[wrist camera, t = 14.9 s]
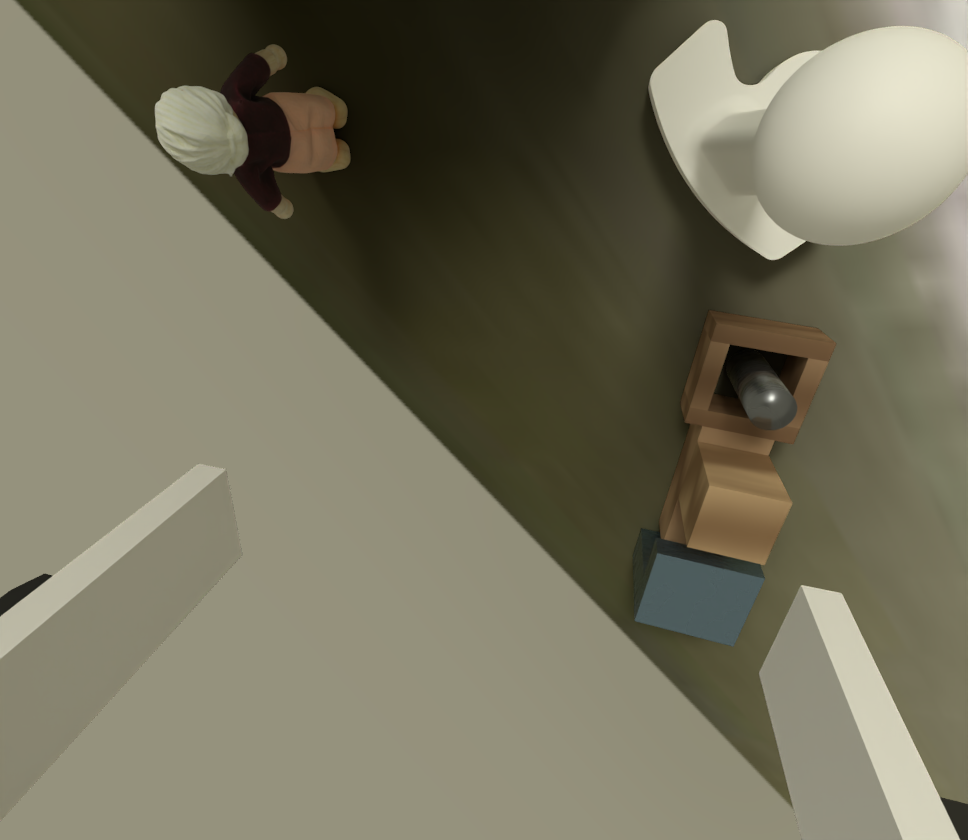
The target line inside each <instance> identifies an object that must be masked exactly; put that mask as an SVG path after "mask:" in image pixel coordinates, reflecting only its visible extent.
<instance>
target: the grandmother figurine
mask: <svg viewBox="0 0 968 840" xmlns="http://www.w3.org/2000/svg"><path fill="white" fill-rule="evenodd" d="M286 64H287V56H286V53H285V51H284V50H283V49H282V48H281V47H280V46H278V45H275V44H272V45H269V46H267V47H266V49H263V50H260V51H258V52H256V53H250V54H248V55H247V56H246V57H245V58H244V60H243V61H242V62H241V63H240V64H239V65H238V66H237V67H236V69H235V70H234V71H233V72H232V73H231V75H230V76H229V78H228V79H227V80H226V81H225V83H224V84H223V86H222V89H221V92H220V93H219V92H216V91H212V90H210V89H207V88H204V87H201V86H194V87H193V86H191V87H190V86H181V87H178V88H177V89H175V88H171V89H169V90H168V91H167V92H164V93H163V94H162V95H161V100H160V101H159V102H157V103H156V105H155V119H156V129H157V133H158V139H159V141H160V143H161V145H162V146H163V147H164V148H165V150H166V151H167V152H168V153H169V154H170V155H171V156H172V157H173V158H174V159H176V160H177V161H179V162H180V163H182V164H184V165H185V166H186V167H188V168H190V169H191V170H193V171H196V172H199V173H201V174H209V175H216V174H219V173H221V174H223V173H227V174H229V175H230V176H232V174H233V173H234V174H235V176H236V178H237V179H238V181H239V182H240V184H241V185H242V186H243V188H244V189H245V190H246V191H247V193H248V194H249V195H250V196H251V197H252V198H253V199H254V200H255V201H256V202H257V204H258V205H259V206H260V207H261V208H262V209H264V210H265V211H271V212H273V213H275V214H276V215H277V216H278V217H279V218H282V219H287V218H289V217H291V216H292V214H293V205H292V203H291V202H290V201H289V200H288V199H286V198H284V197H283V195H281V193H280V190H279V188H278V186H277V183H276V180H275V177H274V171H273V170H275V171H278V172H283V173H311V172H316V171H319V172H331V171H335V170H341V169H344V168H346V167H347V166H348V165H349V163H350V159H351V157H350V149H349V147H348V145H347V143H346V142H344V141H343V140H340V139H336V138H335V134H334V130H333V128H334V129H339V128H342V127H343V126H344V125H345V123H346V121H347V114H348V110H347V106H346V104H345V103H344V101H343V100H341V99H340V98H338V97H337V96H335V95H333V94H332V93H330V92H328V91H327V90H325V89H323V88H320V87H313V88H311V89H309V90H308V91H307V92H306V93H290V92H272V93H268V94H266V95H264V96H262V97H259V96H255V94H256V93H257V92H258V91H259V89H260V88H261V87H262V86H263V85H264V84H265V83H266V82H267V80H268V79H269V77H270V76H271V75H273V74H275V73H276V71H277V70H281V69H283V68H284V67H285V66H286Z"/></svg>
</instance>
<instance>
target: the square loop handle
mask: <svg viewBox="0 0 968 840" xmlns="http://www.w3.org/2000/svg"><path fill="white" fill-rule="evenodd" d="M730 344H731V345H736V346H742V347H748V348H753V349H759V350H765V351H770V352H776V353H782V354H787V355H788V356H787V358H786V361H785V363H784V366H783V368H782V371H781V373H780V376H779V378H780V380H781V381H782V382H783V384H784V385H785V386H786V388H787V389H788V391H789V392H790V393H791V395H792V396H793V397H794V399H795V400H796V403H797V413H796V416H795V417H794V419H793V420H792V421H791V422H790V423H789V424H788V425H787V426H785V427H783V428H781V429H777V430H763V429H760V428H758V427H756V426H755V425H753V424H752V422H751V421H750V419H749V417H748V415H747V413H746V411H745V409H744V407H743V405H742V403H741V401H740V399H738V398H733V397H727V396H722V395H717V394H714V391H715V388H716V385H717V382H718V379H719V376H720V373H721V370H722V367H723V364H724V361H725V358H726V355H727V352H728V349H729V346H730ZM835 346H836V343H835V342H834V341H833V340H831V339H830V338H829V337H828V336H827V335H825V334H824V333H823V332H822V331H821V330H819V329H818V328H813V327H807V326H801V325H795V324H789V323H783V322H777V321H771V320H765V319H759V318H753V317H747V316H742V315H736V314H730V313H724V312H718V311H712V310H709V311H708V314H707V317H706V321H705V324H704V327H703V330H702V334H701V337H700V340H699V343H698V346H697V350H696V353H695V356H694V359H693V363H692V366H691V369H690V372H689V376H688V379H687V382H686V385H685V388H684V392H683V395H682V398H681V401H680V405H681V409H682V413H683V417H684V421H685V423H689V424H690V427H689V430H688V433H687V436H686V439H685V442H684V445H683V448H682V451H681V454H680V458H679V461H678V464H677V467H676V470H675V473H674V476H673V479H672V482H671V485H670V488H669V491H668V494H667V498H666V501H665V504H664V507H663V510H662V513H661V516H660V519H659V526H660V536H661V539H664V540H669V541H673V542H677V543H681V544H686V545H687V547H689V548H694V549H698V550H702V551H706V552H711V553H715V554H719V555H723V556H728V557H732V558H736V559H741V560H745V561H749V562H753V563H758V564H762V565H765V563H766V561H767V558H768V556H769V554H770V552H771V550H772V547H773V545H774V543H775V541H776V539H777V536H778V534H779V532H780V530H781V528H782V525H783V523H784V521H785V519H786V517H787V514H788V512H789V510H790V508H791V506H792V501H791V499H790V497H789V495H788V493H787V491H786V489H785V487H784V485H783V483H782V481H781V479H780V477H779V475H778V473H777V471H776V469H775V467H774V465H773V463H772V461H771V459H770V457H769V453H770V451H771V449H772V446H773V444H774V441H779V442H784V443H789V444H794V441H795V439H796V437H797V434H798V432H799V430H800V427H801V425H802V423H803V420H804V418H805V416H806V414H807V411H808V409H809V407H810V404H811V402H812V400H813V397H814V395H815V393H816V390H817V388H818V386H819V383H820V381H821V379H822V376H823V374H824V372H825V369H826V367H827V365H828V362H829V360H830V358H831V355H832V353H833V351H834V348H835Z"/></svg>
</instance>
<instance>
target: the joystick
mask: <svg viewBox="0 0 968 840" xmlns="http://www.w3.org/2000/svg"><path fill="white" fill-rule="evenodd" d="M648 91H649V96H650V100H651V104H652V107H653V111H654V114H655V117H656V121H657V124H658V126H659V129H660V132H661V135H662V137H663V140H664V142H665V144H666V147H667V149H668V151H669V153H670V155H671V157H672V159H673V161H674V163H675V165H676V167H677V169H678V170H679V172H680V174H681V176H682V177H683V179H684V180H685V182H686V183H687V185H688V186H689V188H690V189H691V191H692V192H693V193H694V195H695V196H696V197H697V199H698V200H699V201H700V202H701V204H702V205H703V206H704V207H705V208H706V210H707V211H708V212H709V213H710V214H711V215H712V216H713V217H714V218H715V219H716V220H717V221H718V222H719V223H720V224H721V225H722V226H723V227H724V228H725V229H726V230H727V231H729V232H730V233H731V234H732V235H733V236H735V237H736V238H737V239H739V240H740V241H741V242H742V243H744V244H745V245H747V246H748V247H750V248H751V249H753V250H754V251H756V252H757V253H759V254H760V255H762V256H763V257H765V258H767V259H769V260H777V259H780V258H782V257H783V256H785V255H786V254H788V253H789V252H791V251H792V250H794V249H795V248H797V247H798V246H800V245H801V244H803V243H804V242H806V241H809V242H812V243H817V244H822V245H832V246H845V245H856V244H862V243H867V242H871V241H875V240H878V239H882V238H885V237H887V236H890V235H892V234H895V233H897V232H899V231H901V230H903V229H905V228H907V227H909V226H911V225H913V224H914V223H916V222H918V221H919V220H921V219H922V218H924V217H925V216H927V215H928V214H929V213H931V212H932V211H933V210H934V209H936V208H937V207H938V206H939V205H940V204H941V203H943V202H944V201H945V200H946V199H947V198H948V197H949V196H950V195H951V194H952V192H953V191H954V190H955V189H956V188H957V187H958V186H959V184H960V183H961V182H962V181H963V179H964V178H965V176H966V175H967V174H968V51H967V50H966V49H965V48H964V47H963V46H961V45H960V44H959V43H958V42H956V41H955V40H953V39H951V38H950V37H948V36H946V35H943V34H941V33H939V32H936V31H933V30H929V29H925V28H920V27H912V26H892V27H883V28H877V29H872V30H868V31H865V32H861V33H858V34H855V35H852V36H850V37H848V38H845V39H843V40H841V41H839V42H837V43H835V44H833V45H831V46H829V47H827V48H826V49H824V50H823V51H808V52H803V53H800V54H797V55H795V56H793V57H791V58H789V59H787V60H786V61H784V62H783V63H781V64H780V65H778V66H776V67H775V68H774V69H772V70H771V71H770V72H769V73H767V74H766V75H765V76H764V78H763V79H762V80H761V81H760V82H759V83H758V84H755V85H745V84H743V83H741V82H740V81H739V80H738V79H737V78H736V76H735V73H734V69H733V65H732V60H731V55H730V49H729V43H728V34H727V29H726V26H725V25H724V24H723V23H722V22H721V21H718V20H711V21H708V22H707V23H705V24H704V25H703V26H702V27H700V28H699V29H698V30H697V31H696V32H695V33H694V34H693V35H692V36H691V37H690V38H688V39H687V40H686V41H685V42H684V43H683V44H682V45H681V46H680V47H679V48H677V49H676V50H675V51H674V52H673V53H672V54H671V55H670V56H669V57H668V58H667V59H665V60H664V61H663V62H662V63H661V64H660V65H659V66H658V67H657V68H656V69H655V70H654V71H653V73H652V75H651V78H650V81H649V85H648Z"/></svg>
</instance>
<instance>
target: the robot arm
mask: <svg viewBox="0 0 968 840" xmlns="http://www.w3.org/2000/svg"><path fill="white" fill-rule="evenodd" d="M241 556H242V550H241V544H240V539H239V534H238V528H237V523H236V518H235V513H234V507H233V503H232V497H231V492H230V487H229V482H228V476H227V471H226V469H222V468H217V467H212V466H207V465H202V464H197V465H196V466H195V467H194V468H192V469H191V470H190V471H188V472H187V473H186V474H185V475H183V476H182V477H181V478H179V479H178V480H177V481H175V482H174V483H173V484H171V485H170V486H169V487H168V488H167V489H165V490H164V491H162V492H161V493H160V494H158V495H157V496H156V497H155V498H154V499H152V500H151V501H150V502H148V503H147V504H146V505H144V506H143V507H142V508H140V509H139V510H138V511H136V512H135V513H134V514H133V515H131V516H130V517H129V518H127V519H126V520H125V521H124V522H122V523H121V524H120V525H118V526H117V527H116V528H114V529H113V530H112V531H110V532H109V533H108V534H107V535H105V536H104V537H103V538H101V539H100V540H99V541H98V542H96V543H95V544H94V545H92V546H91V547H90V548H89V549H87V550H86V551H85V552H83V553H82V554H81V555H79V556H78V557H77V558H75V559H74V560H73V561H72V562H70V563H69V564H68V565H67V566H65V567H64V568H63V569H61V570H60V571H59V572H57V573H56V574H55V575H53V576H52V575H48V574H43V575H41V576H39V577H37V578H35V579H33V580H31V581H28V582H26V583H25V584H22V585H20V586H18V587H16V588H14V589H12V590H11V591H9V592H8V593H6V594H5V595H4V596H2V597H1V598H0V821H1V820H2V819H3V818H4V817H5V816H6V815H7V813H8V812H9V811H10V810H11V809H12V808H13V807H14V806H15V805H16V804H17V803H18V801H19V800H20V799H21V798H22V797H23V796H24V795H25V794H26V793H27V792H28V790H29V789H30V788H31V787H32V786H33V785H34V784H35V783H36V782H37V781H38V779H39V778H40V777H41V776H42V775H43V774H44V773H45V772H46V771H47V769H48V768H49V767H50V766H51V765H52V764H53V763H54V762H55V761H56V760H57V758H58V757H59V756H60V755H61V754H62V753H63V752H64V751H65V750H66V749H67V748H68V746H69V745H70V744H71V743H72V742H73V741H74V740H75V739H76V738H77V736H78V735H79V734H80V733H81V732H82V731H83V730H84V729H85V728H86V727H87V725H88V724H89V723H90V722H91V721H92V720H93V719H94V718H95V717H96V716H97V715H98V713H99V712H100V711H101V710H102V709H103V708H104V707H105V706H106V705H107V704H108V702H109V701H110V700H111V699H112V698H113V697H114V696H115V695H116V694H117V692H118V691H119V690H120V689H121V688H122V687H123V686H124V685H125V684H126V683H127V681H128V680H129V679H130V678H131V677H132V676H133V675H134V674H135V673H136V672H137V670H138V669H139V668H140V667H141V666H142V665H143V664H144V663H145V662H146V660H147V659H148V658H149V657H150V656H151V655H152V654H153V653H154V652H155V650H156V649H157V648H158V647H159V646H160V645H161V644H162V643H163V642H164V641H165V640H166V638H167V637H168V636H169V635H170V634H171V633H172V632H173V631H174V630H175V629H176V628H177V626H178V625H179V624H180V623H181V622H182V621H183V620H184V619H185V618H186V617H187V615H188V614H189V613H190V612H191V611H192V610H193V609H194V608H195V607H196V606H197V604H198V603H199V602H200V601H201V600H202V599H203V598H204V597H205V596H206V595H207V593H208V592H209V591H210V590H211V589H212V588H213V587H214V586H215V585H216V584H217V582H218V581H219V580H220V579H221V578H222V577H223V576H224V575H225V574H226V573H227V571H228V570H229V569H230V568H231V567H232V566H233V565H234V564H235V563H236V561H237V560H238V559H239V558H240V557H241ZM759 675H760V679H761V683H762V687H763V691H764V695H765V699H766V703H767V707H768V710H769V714H770V718H771V722H772V726H773V730H774V734H775V738H776V742H777V746H778V750H779V754H780V757H781V761H782V765H783V769H784V773H785V777H786V781H787V785H788V789H789V793H790V797H791V801H792V805H793V808H794V812H795V816H796V820H797V824H798V828H799V831H800V836H801V840H968V804H965V803H961V802H957V801H953V800H949V799H945V798H941V797H939V795H938V793H937V791H936V789H935V787H934V784H933V782H932V780H931V778H930V776H929V774H928V772H927V770H926V768H925V766H924V764H923V762H922V759H921V757H920V755H919V753H918V751H917V749H916V747H915V745H914V743H913V741H912V739H911V737H910V735H909V732H908V730H907V728H906V726H905V724H904V722H903V720H902V718H901V716H900V714H899V712H898V710H897V707H896V705H895V703H894V701H893V699H892V697H891V695H890V693H889V691H888V689H887V687H886V685H885V683H884V680H883V678H882V676H881V674H880V672H879V670H878V668H877V666H876V664H875V662H874V660H873V658H872V655H871V653H870V651H869V649H868V647H867V645H866V643H865V641H864V639H863V637H862V635H861V633H860V631H859V628H858V626H857V624H856V622H855V620H854V618H853V616H852V614H851V612H850V610H849V608H848V606H847V603H846V601H845V599H844V597H843V595H842V593H838V592H833V591H828V590H823V589H818V588H813V587H808V586H803V585H801V586H800V588H799V590H798V593H797V595H796V597H795V599H794V601H793V603H792V605H791V607H790V609H789V611H788V613H787V616H786V618H785V620H784V622H783V624H782V626H781V628H780V630H779V632H778V634H777V636H776V639H775V641H774V643H773V645H772V647H771V649H770V651H769V653H768V655H767V657H766V659H765V662H764V664H763V666H762V668H761V670H760V672H759Z"/></svg>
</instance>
